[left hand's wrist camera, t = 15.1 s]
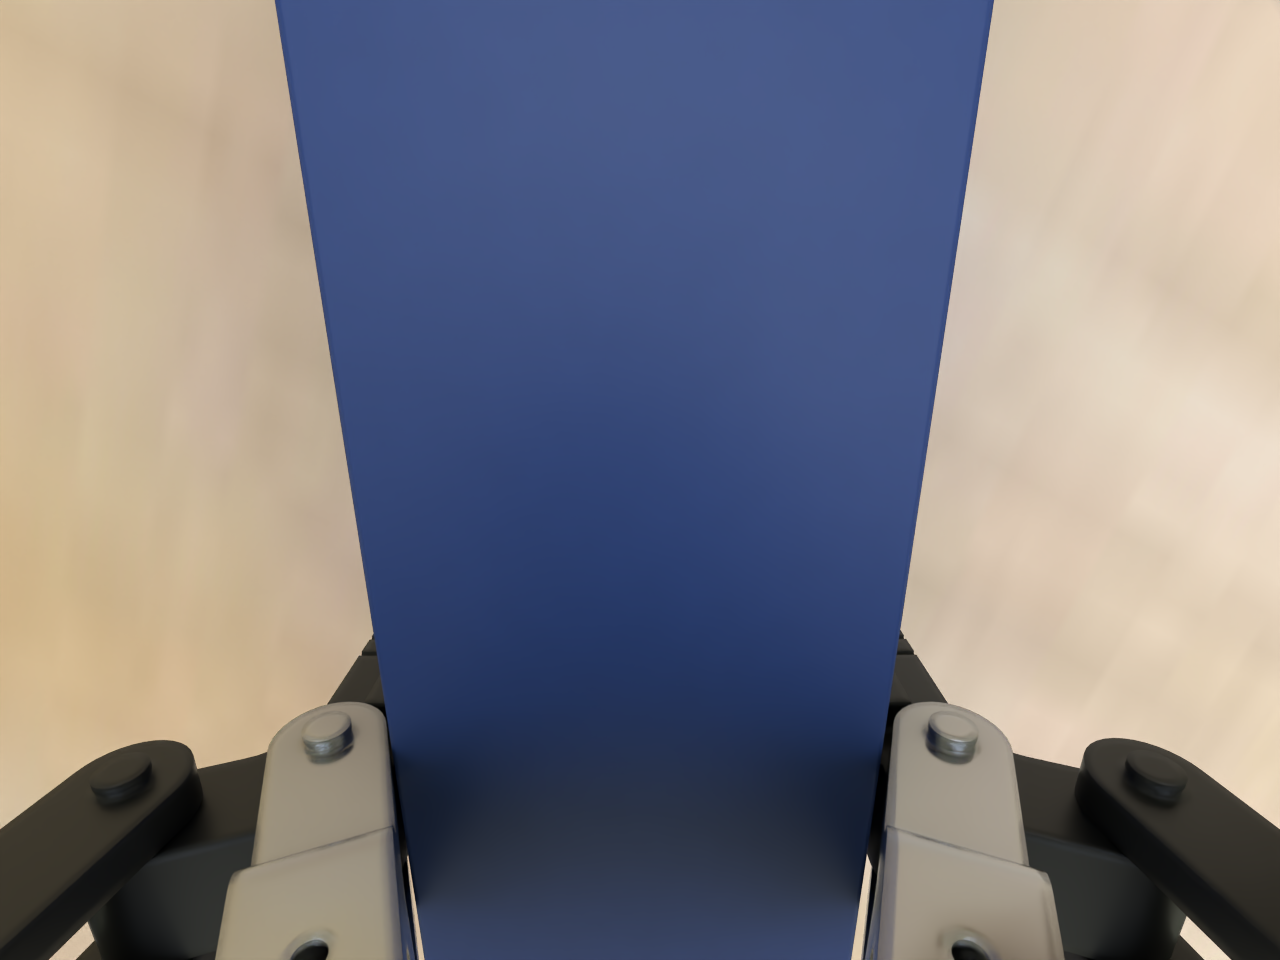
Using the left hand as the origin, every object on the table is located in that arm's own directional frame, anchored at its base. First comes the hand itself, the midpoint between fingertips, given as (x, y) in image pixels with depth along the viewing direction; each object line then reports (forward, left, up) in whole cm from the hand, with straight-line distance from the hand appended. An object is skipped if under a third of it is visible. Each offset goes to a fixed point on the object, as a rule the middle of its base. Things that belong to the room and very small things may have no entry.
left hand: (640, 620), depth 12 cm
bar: (+7, -4, -3) cm, 9 cm away
